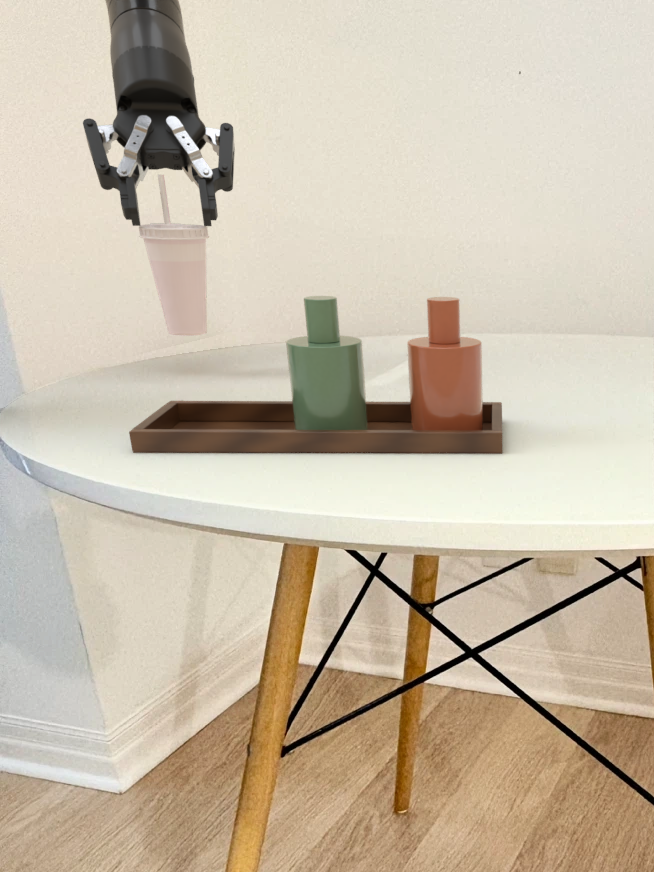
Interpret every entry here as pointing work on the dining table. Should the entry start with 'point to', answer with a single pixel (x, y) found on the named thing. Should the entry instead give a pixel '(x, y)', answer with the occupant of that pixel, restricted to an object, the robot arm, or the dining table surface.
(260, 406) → the tray
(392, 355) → the dining table surface
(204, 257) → the smoothie
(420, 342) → the ceramic bottles
